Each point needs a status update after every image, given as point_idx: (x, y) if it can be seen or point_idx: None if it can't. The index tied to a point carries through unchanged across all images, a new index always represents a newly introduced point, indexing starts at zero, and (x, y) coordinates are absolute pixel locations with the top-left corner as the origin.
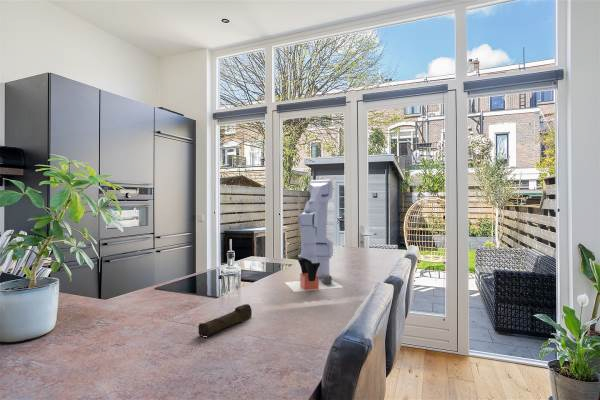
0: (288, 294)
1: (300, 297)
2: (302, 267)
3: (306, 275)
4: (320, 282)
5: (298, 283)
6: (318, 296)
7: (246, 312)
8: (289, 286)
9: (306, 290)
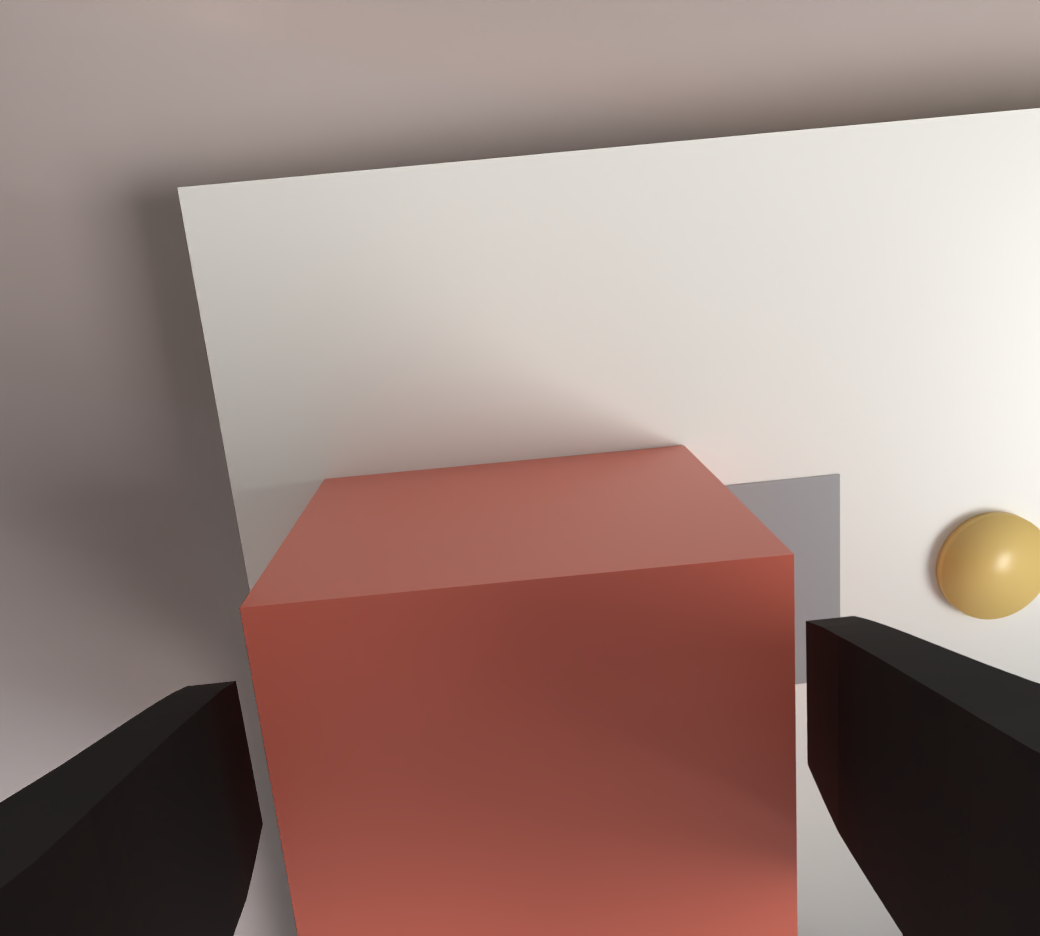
0: (361, 71)
1: (71, 307)
2: (992, 767)
3: (401, 704)
4: (860, 932)
5: (945, 449)
6: (99, 683)
7: None
8: (732, 157)
9: (253, 507)
